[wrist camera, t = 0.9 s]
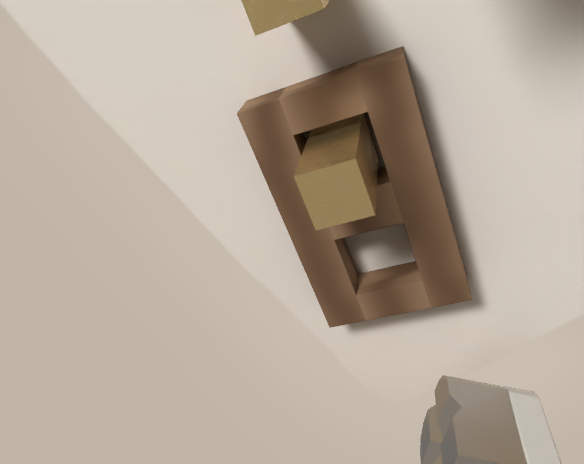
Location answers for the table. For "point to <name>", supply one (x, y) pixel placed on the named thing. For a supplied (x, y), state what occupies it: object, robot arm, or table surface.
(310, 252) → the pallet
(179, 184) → the table surface
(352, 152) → the seated billet
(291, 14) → the block
